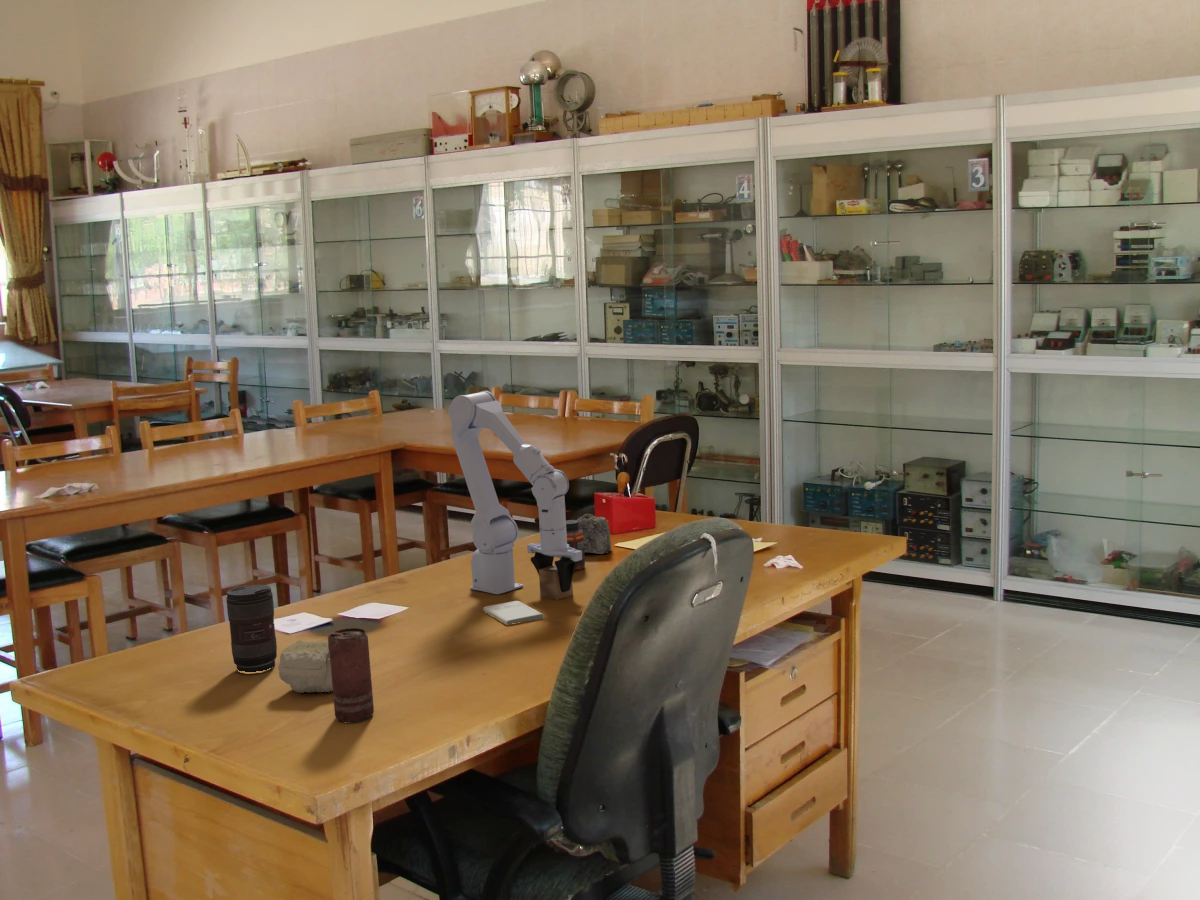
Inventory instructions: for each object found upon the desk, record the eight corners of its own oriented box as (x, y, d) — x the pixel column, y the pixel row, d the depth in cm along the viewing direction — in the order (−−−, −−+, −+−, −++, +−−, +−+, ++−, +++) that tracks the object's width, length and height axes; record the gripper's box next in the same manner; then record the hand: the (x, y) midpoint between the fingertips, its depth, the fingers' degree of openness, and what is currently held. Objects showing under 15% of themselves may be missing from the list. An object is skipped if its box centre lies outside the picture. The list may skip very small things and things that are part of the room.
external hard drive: (506, 628, 230) (483, 613, 241) (544, 621, 234) (519, 606, 245) (506, 620, 230) (482, 606, 241) (543, 613, 233) (518, 599, 244)
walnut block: (540, 596, 249) (538, 569, 249) (556, 591, 253) (554, 564, 252) (557, 600, 246) (555, 572, 245) (572, 594, 250) (571, 567, 249)
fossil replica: (355, 695, 196) (347, 681, 205) (354, 646, 195) (346, 635, 205) (281, 701, 192) (277, 687, 201) (281, 651, 191) (276, 640, 201)
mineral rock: (551, 555, 287) (549, 515, 285) (577, 545, 295) (575, 507, 294) (593, 560, 279) (591, 519, 278) (618, 550, 288) (616, 511, 286)
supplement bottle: (586, 564, 275) (584, 518, 273) (583, 571, 269) (581, 524, 267) (561, 565, 275) (559, 519, 274) (558, 571, 270) (555, 524, 268)
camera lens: (288, 662, 214) (280, 584, 211) (262, 677, 206) (254, 596, 204) (251, 659, 216) (243, 582, 214) (224, 674, 209) (216, 594, 207)
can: (336, 711, 188) (329, 628, 186) (375, 708, 188) (369, 625, 186) (331, 725, 182) (323, 640, 180) (371, 722, 182) (364, 637, 180)
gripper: (590, 527, 246) (593, 589, 248) (541, 520, 255) (545, 580, 257) (567, 534, 240) (571, 597, 242) (519, 526, 250) (522, 587, 252)
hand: (556, 589), depth 249 cm, fingers closed on walnut block, 5 cm apart
